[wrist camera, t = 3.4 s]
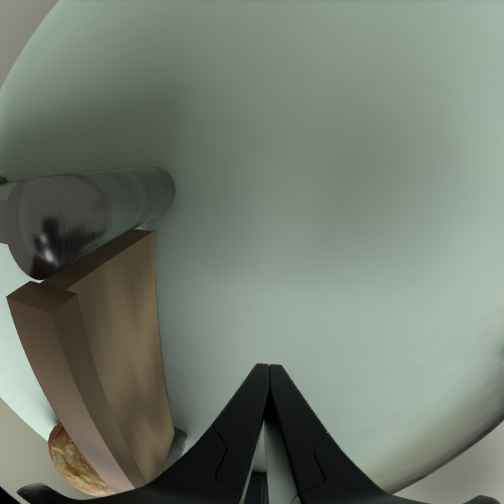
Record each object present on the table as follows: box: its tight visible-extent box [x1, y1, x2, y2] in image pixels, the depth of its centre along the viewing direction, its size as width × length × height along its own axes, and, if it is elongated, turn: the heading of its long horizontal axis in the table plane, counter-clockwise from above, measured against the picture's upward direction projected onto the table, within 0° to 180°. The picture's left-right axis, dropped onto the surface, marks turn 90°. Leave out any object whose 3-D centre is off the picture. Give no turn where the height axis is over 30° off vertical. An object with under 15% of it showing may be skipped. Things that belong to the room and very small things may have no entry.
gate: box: [6, 229, 175, 494], centre depth 10 cm, size 14×2×7 cm, turn 174°
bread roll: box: [48, 423, 116, 497], centre depth 17 cm, size 10×10×8 cm
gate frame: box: [0, 167, 187, 473], centre depth 10 cm, size 19×14×7 cm
